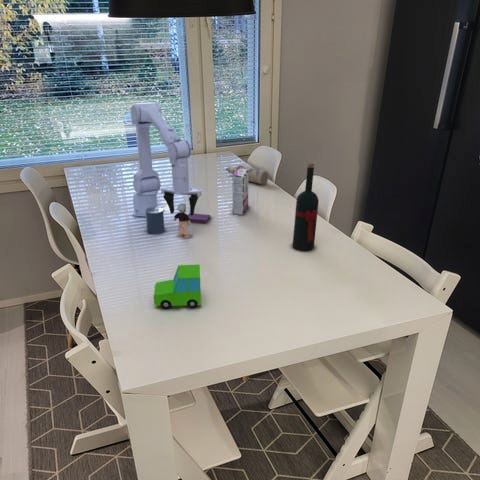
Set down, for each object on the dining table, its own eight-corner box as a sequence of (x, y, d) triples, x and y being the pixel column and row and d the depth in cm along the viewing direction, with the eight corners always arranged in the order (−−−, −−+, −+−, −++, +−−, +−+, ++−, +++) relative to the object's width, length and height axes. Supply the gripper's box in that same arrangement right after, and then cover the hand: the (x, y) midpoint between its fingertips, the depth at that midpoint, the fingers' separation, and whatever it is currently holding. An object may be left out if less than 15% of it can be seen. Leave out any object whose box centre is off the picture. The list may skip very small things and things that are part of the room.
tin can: (144, 233, 185) (142, 212, 180) (151, 227, 190) (149, 206, 186) (161, 235, 184) (159, 213, 179) (166, 228, 189) (165, 207, 185)
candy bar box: (237, 205, 213) (237, 168, 204) (248, 206, 212) (249, 169, 204) (231, 214, 204) (232, 175, 195) (243, 215, 203) (244, 176, 194)
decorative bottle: (269, 183, 243) (269, 169, 239) (259, 186, 238) (259, 172, 234) (232, 172, 257) (232, 160, 254) (222, 175, 253) (222, 162, 249)
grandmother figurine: (194, 235, 184) (193, 203, 177) (190, 239, 181) (189, 206, 174) (176, 232, 186) (174, 200, 179) (171, 236, 183) (169, 203, 176)
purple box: (184, 221, 196) (184, 218, 195) (189, 215, 202) (189, 212, 201) (205, 223, 194) (205, 220, 194) (210, 217, 200) (210, 214, 199)
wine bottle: (299, 255, 170) (306, 169, 154) (289, 243, 179) (295, 161, 163) (319, 253, 172) (329, 167, 156) (309, 241, 181) (317, 160, 164)
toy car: (156, 294, 145) (153, 264, 140) (200, 292, 146) (199, 263, 141) (154, 311, 136) (151, 280, 131) (201, 310, 137) (200, 279, 132)
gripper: (157, 178, 169) (159, 215, 177) (196, 181, 167) (198, 219, 174) (164, 173, 175) (166, 209, 182) (202, 176, 173) (203, 212, 180)
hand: (182, 213), depth 179 cm, fingers open, 7 cm apart
